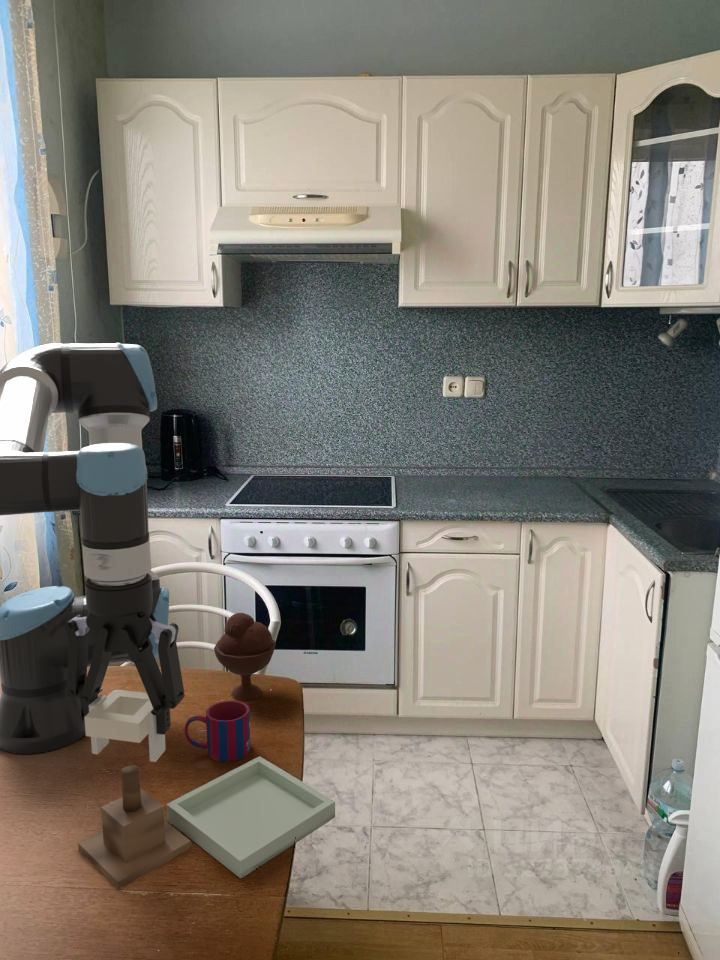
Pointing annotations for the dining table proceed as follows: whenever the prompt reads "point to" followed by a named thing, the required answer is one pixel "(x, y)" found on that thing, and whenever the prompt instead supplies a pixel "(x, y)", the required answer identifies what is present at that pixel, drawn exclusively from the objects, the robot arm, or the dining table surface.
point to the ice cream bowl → (245, 652)
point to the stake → (132, 835)
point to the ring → (120, 717)
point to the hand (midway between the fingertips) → (129, 751)
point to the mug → (225, 731)
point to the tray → (250, 814)
